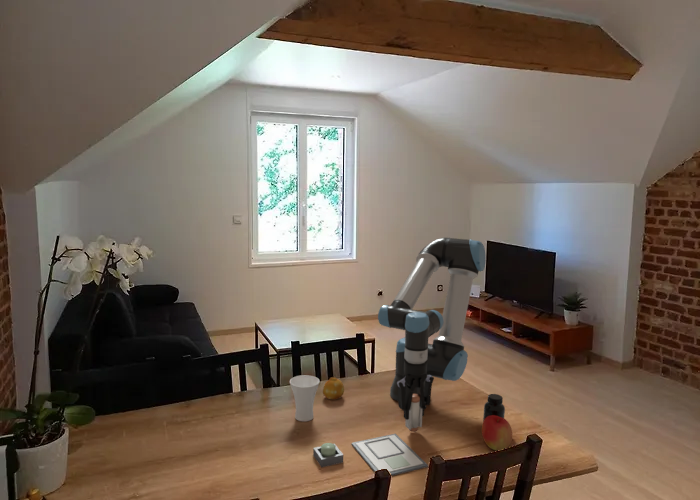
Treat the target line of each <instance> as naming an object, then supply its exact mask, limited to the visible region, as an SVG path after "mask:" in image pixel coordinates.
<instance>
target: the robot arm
mask: <svg viewBox="0 0 700 500" xmlns="http://www.w3.org/2000/svg"><path fill="white" fill-rule="evenodd" d="M486 255H487V254H486V249H485V245H484V244H483V242H482V241H480V240H475V239H472V238H470V239H469V238H468V239H465V238H454V237H440V238H436V239H435V240H433V241H431V242H429V243H428V244H426V245H425V246H424V247H423V248H422V249H420V251H419V252H418V254H417V256H416V257H415V258H416V259H415V262H416V263H415V264H414V266H413V267H412V268H411V270H410V272H409V275H408V276H407V278H406V280H405V281H404V283H403V284H402V286H401V288H400V289H399V290H398V293H397V294H396V295H395V298H394V299H393V300H392V302H391V303H390V305H389V304H384V305H382V306H381V307H379V310H378V313H377V321H378V323H379V325H381V326H383V327H386V328H389V329H396V330H403V331H405V333H404V337H402V338H400V339H399V340H398V341H397V343H396V349H395V374H394V375H395V376H394V379H393V381H392V384H391V385H390V389H389V395H390V397H391V399H393V400H394V401H397V402H398V408H399V409H401V410H402V411H403V419H404V420H405V424H404V425H405V427H406V428H407V429H408V430H409V431H410V429H411V425H412V411H411V410H410V407H411V401H412V396H413V394H418V395H419V396H420V404H419V427H418V428H422V427H423V417H424V416H425V410H426V409H427V406H430V405H431V396H432V389H433V388H432V387H433V382H434V379H435V378H438V379H442V380H444V381H452V382H455V381H458V380H460V378H462V376H463V375H464V373H465V369H466V368H467V363H468V356H469V355H468V352H467V351H466V350H465V344H464V343H463V341H462V340H463V339H462V338H463V333H464V328H465V324H466V323H465V322H466V318H467V312H468V308H469V301H470V297H471V296H470V295H471V291H472V286H473V281H474V279H476V278H478V275H479V272H480V273H481V272H483V271H484V270H485V269H486V268H485V267H486V263H487V262H486V261H487V260H486ZM441 267H445V268H447V272H448V273H449V276H450V277H449V281H448V287H447V291H446V296H445V302H444V306H443V310H442V313H440V312H439V311H438V310H435V309H430V310H426V311H422V310H417V309H416V310H415V309H414V307H415V305H416V303H417V302H418V300H419V298H420V297H421V295H422V293H423V291H424V289H425V288H426V286H427V284H428V282H429V281H430V278H432V276H433V274H434V273H435V272H437V271H438V270H439V268H441ZM436 333H438V335H437V336H436V337H435V338H433V339H432V340H433V341H432V343H429V338H430V337H432V336H433V335H434V334H436ZM434 377H435V378H434Z"/></svg>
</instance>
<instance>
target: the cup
mask: <svg viewBox="0 0 700 500" xmlns="http://www.w3.org/2000/svg"><path fill="white" fill-rule="evenodd" d="M320 382H321V381H320V379H319V378H318V377H316V376H314V375H310V374H309V375H308V374H306V375H304V374H303V375H302V374H301V375H296V376H294V377H291V378H290V379H289V385H290V388H291V390H292V394H293V398H294V405H295V413H294V414H295V415H294V418H295V420H297V421H299V422H310V421H312V420H313V419H314V418H315V417H314V403H315V397H316V393H317V391H318V388H319V384H320Z"/></svg>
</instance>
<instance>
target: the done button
mask: <svg viewBox="0 0 700 500" xmlns="http://www.w3.org/2000/svg"><path fill="white" fill-rule="evenodd" d="M334 444H335V443H332V442H326V443H325V442H324V443H323V444H321V455H322V456H323V457H328V456H332V455H335V452H336V446H337V445H336V444H335V445H336V446H335V445H334Z"/></svg>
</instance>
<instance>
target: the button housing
mask: <svg viewBox="0 0 700 500" xmlns="http://www.w3.org/2000/svg"><path fill="white" fill-rule="evenodd" d="M333 444H334V445H335V446H336V452H335V455H332V456H328V457H323V456H322V455H321V446H316V447H313V449H312V450H313V451H312V452H313V453H312V454H313V455H312V456H313V457H314V459H315V461H316V462H317V463H318V465H319V467H320V468H325V467H330V466H334V465H339V464H343V463H344V453H343V452H342V451H341V450H340V449H339V447H338V446H337V444H335V443H333Z"/></svg>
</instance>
